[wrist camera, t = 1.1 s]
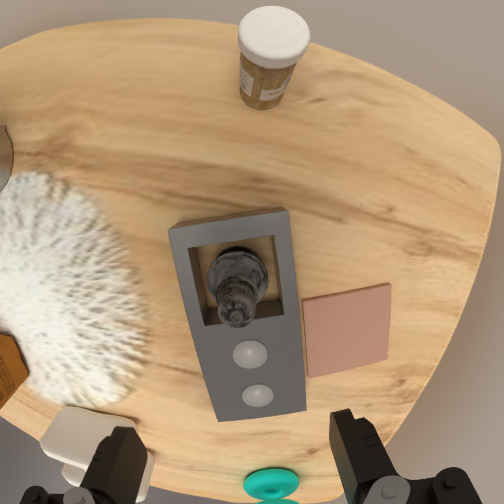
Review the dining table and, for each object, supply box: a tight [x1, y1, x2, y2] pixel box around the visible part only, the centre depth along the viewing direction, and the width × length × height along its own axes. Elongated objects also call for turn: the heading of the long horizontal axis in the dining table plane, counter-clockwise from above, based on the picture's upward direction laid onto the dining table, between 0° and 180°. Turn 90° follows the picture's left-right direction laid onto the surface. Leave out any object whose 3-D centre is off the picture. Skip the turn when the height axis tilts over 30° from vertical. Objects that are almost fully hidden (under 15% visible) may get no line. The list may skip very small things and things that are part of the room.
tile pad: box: [302, 283, 391, 378], centre depth 33 cm, size 11×11×1 cm
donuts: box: [244, 469, 300, 504], centre depth 36 cm, size 10×10×10 cm
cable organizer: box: [40, 407, 155, 502], centre depth 31 cm, size 15×11×12 cm
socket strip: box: [168, 207, 307, 422], centre depth 30 cm, size 24×11×4 cm, turn 8°
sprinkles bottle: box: [238, 6, 310, 109], centre depth 20 cm, size 5×5×14 cm
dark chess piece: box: [207, 246, 268, 328], centre depth 25 cm, size 6×6×12 cm
